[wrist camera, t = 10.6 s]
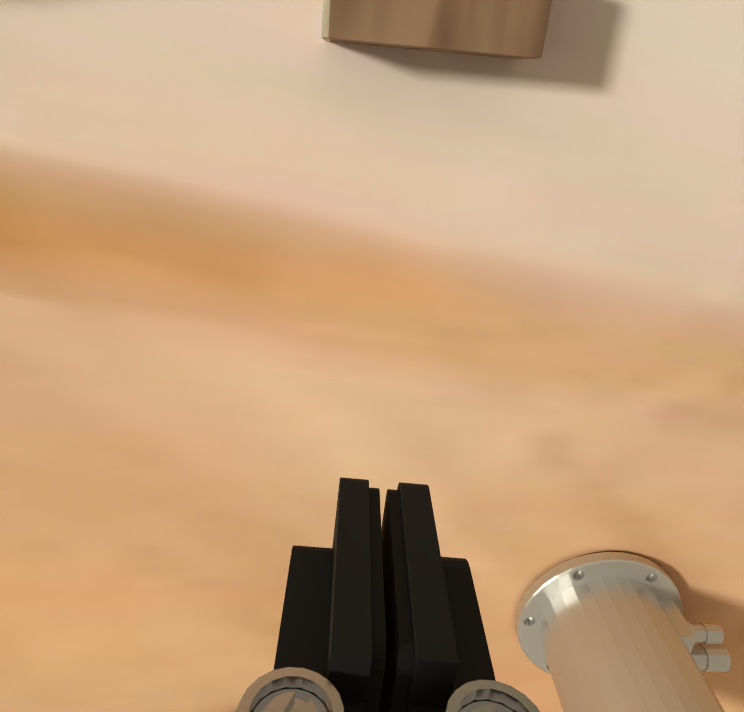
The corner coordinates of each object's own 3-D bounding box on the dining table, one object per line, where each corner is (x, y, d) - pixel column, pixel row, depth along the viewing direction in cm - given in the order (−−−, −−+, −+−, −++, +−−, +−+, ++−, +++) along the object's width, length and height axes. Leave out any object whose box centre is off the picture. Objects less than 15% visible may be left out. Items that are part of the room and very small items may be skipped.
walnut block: (329, -54, 30) (534, -32, 30) (324, 40, 31) (519, 59, 32) (326, -70, 26) (559, -45, 27) (321, 37, 28) (541, 58, 28)
